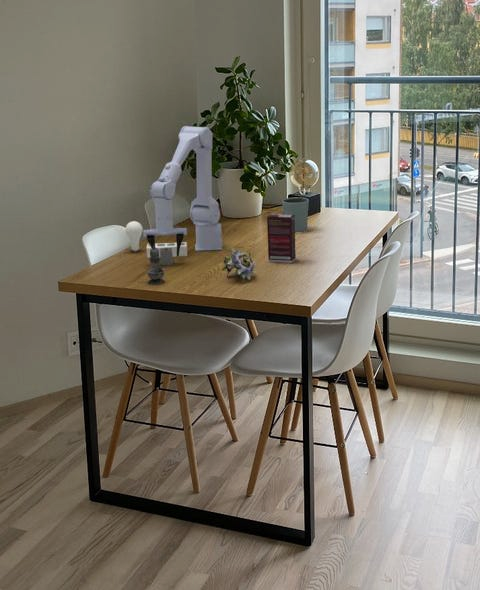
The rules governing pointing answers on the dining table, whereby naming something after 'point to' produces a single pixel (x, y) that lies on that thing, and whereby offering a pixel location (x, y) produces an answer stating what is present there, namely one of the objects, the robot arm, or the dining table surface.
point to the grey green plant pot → (297, 211)
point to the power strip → (170, 245)
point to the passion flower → (240, 264)
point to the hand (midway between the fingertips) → (166, 256)
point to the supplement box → (281, 238)
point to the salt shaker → (155, 268)
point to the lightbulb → (134, 234)
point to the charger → (166, 256)
